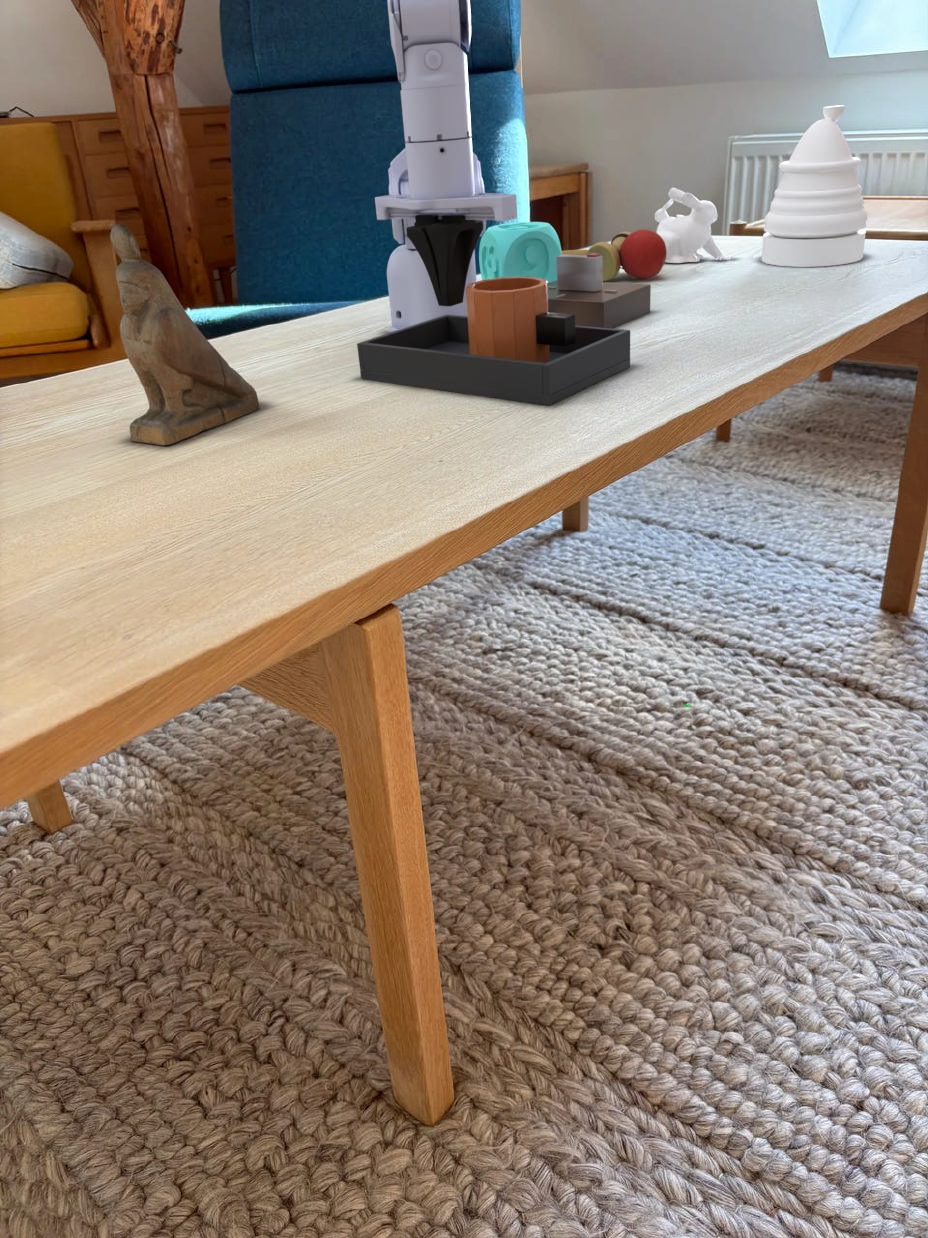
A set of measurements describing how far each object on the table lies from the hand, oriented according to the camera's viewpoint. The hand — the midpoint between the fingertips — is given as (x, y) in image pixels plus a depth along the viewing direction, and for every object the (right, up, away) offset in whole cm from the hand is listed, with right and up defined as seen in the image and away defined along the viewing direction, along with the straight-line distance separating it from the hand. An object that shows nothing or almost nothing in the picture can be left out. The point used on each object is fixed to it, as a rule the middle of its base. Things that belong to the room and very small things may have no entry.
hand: (450, 304), depth 90 cm
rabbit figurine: (+32, +21, +46) cm, 60 cm away
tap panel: (+14, +4, +19) cm, 24 cm away
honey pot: (+48, +19, +41) cm, 66 cm away
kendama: (+20, +16, +40) cm, 48 cm away
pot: (+7, -6, -2) cm, 9 cm away
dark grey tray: (+4, -6, 0) cm, 7 cm away
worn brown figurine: (-21, -12, -7) cm, 26 cm away
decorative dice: (+8, +12, +34) cm, 37 cm away
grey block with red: (+14, +7, +17) cm, 23 cm away
